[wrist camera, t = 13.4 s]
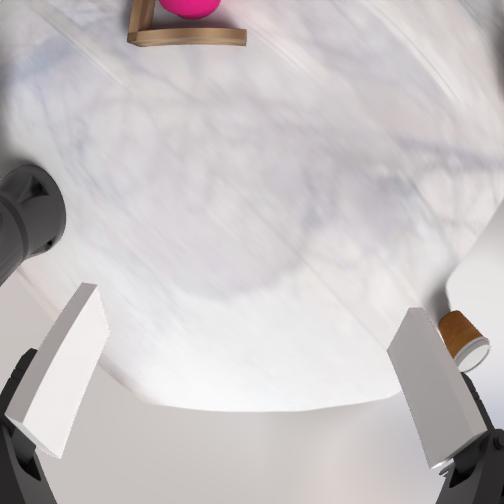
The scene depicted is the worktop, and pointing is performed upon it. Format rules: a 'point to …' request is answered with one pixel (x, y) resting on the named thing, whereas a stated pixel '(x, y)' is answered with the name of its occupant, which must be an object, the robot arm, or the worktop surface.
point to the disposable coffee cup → (463, 341)
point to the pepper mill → (190, 7)
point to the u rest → (176, 31)
